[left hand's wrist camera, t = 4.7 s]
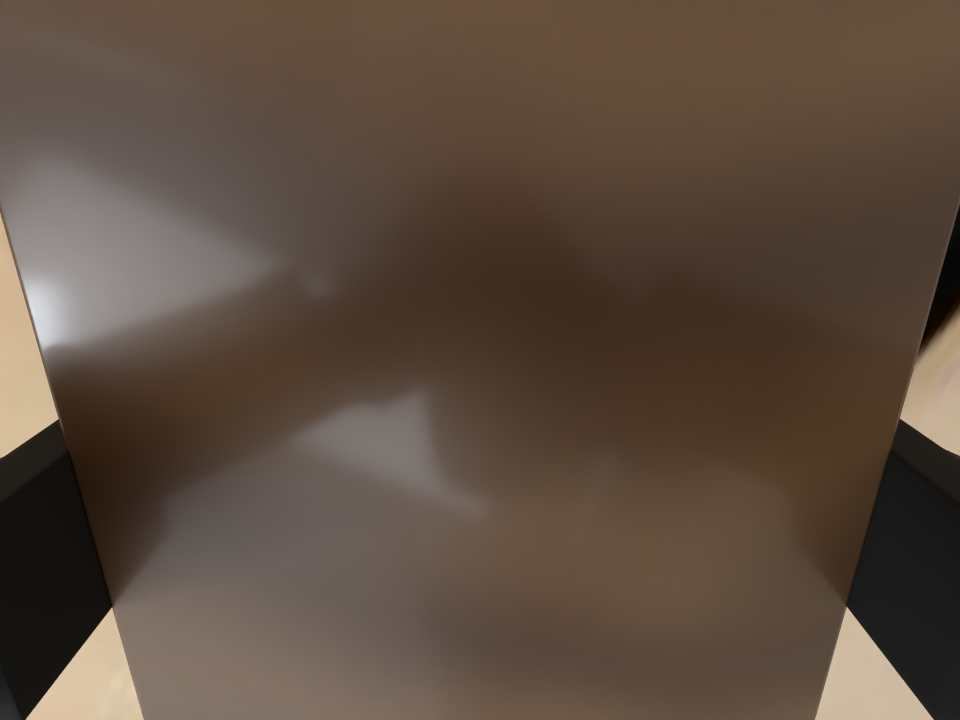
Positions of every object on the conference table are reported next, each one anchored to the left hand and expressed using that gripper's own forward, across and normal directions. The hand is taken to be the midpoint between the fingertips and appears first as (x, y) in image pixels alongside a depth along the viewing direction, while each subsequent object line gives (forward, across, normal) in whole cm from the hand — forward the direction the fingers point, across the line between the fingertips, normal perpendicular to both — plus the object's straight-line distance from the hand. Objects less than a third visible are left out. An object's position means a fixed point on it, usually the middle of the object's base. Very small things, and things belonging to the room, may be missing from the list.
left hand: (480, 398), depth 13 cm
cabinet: (+5, 0, -5) cm, 7 cm away
